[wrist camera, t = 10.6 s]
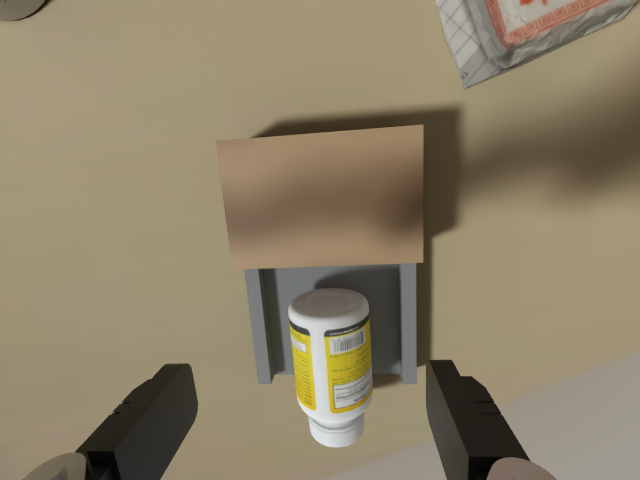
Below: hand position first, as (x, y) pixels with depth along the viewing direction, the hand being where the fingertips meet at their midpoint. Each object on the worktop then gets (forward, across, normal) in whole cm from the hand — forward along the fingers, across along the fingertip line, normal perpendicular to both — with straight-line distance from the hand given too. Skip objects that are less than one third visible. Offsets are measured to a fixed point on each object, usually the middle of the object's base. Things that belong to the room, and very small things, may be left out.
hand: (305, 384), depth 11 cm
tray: (+14, 0, +4) cm, 14 cm away
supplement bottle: (+11, 0, +2) cm, 11 cm away
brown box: (+14, 0, -5) cm, 15 cm away
